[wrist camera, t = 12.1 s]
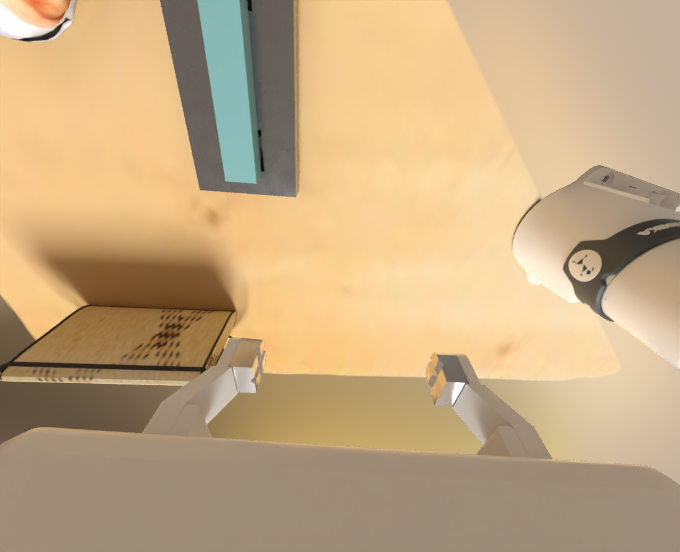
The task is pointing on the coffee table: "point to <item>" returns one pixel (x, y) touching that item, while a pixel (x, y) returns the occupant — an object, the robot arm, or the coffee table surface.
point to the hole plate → (269, 85)
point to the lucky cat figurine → (35, 19)
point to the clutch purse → (125, 347)
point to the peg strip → (232, 86)
